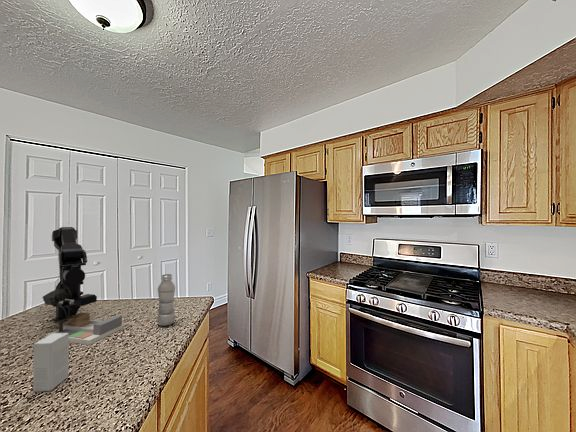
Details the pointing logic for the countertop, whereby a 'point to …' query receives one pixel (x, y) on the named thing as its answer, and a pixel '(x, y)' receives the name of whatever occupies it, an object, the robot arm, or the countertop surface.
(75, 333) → the gauge base
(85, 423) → the countertop surface
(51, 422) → the countertop surface
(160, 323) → the plastic bottle
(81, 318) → the slider
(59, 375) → the skincare box
